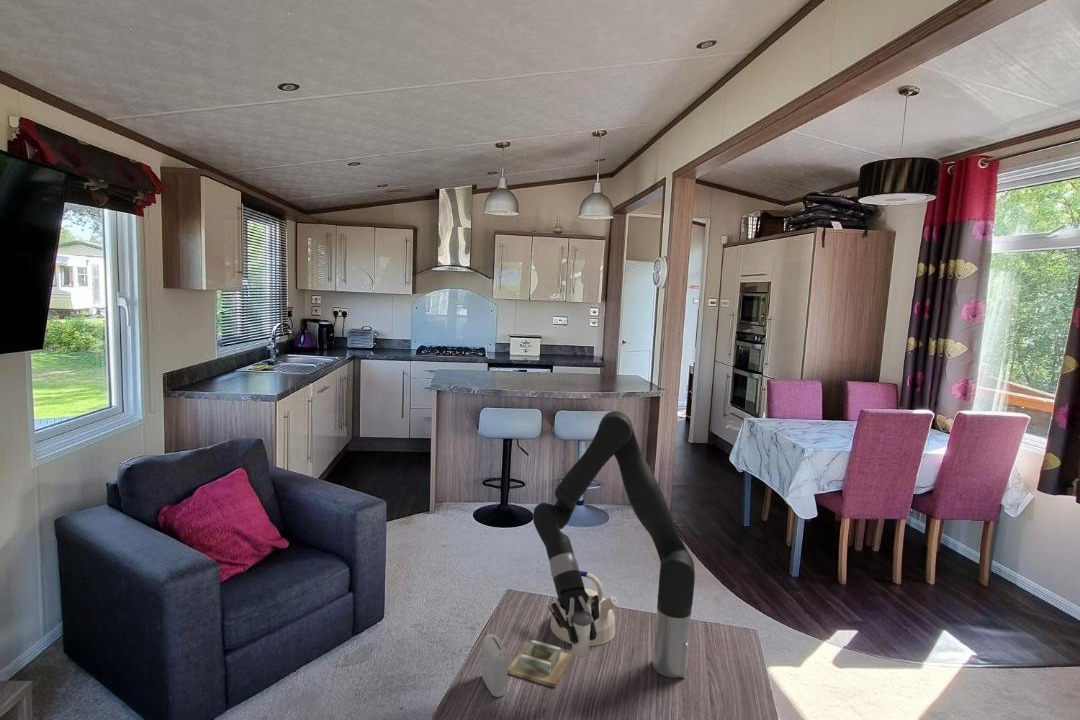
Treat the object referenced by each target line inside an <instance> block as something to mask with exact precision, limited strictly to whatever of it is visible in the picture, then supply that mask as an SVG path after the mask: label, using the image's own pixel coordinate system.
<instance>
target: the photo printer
mask: <svg viewBox="0 0 1080 720" xmlns="http://www.w3.org/2000/svg"><path fill="white" fill-rule="evenodd" d="M481 644H482V647H481V668H480V669H481V670H480V671H481V674H480V675H481V678H482V680H483V683H484V684H485V686H486V687H487V689H488V691H489V692H490V693H491V695H492V696H493V697H496V698H501V697H503V696H505V695H506V693H507V692H508V675H509V674H508V667H509V655H508V654H509V653H508V651H507V650H506V648H505V645H504V644H503V642H502V641H501V640H500V638H499V637H497V635H495V634H492V633H490V634H486V635H485V636H484V638H483V639H482V643H481Z"/></svg>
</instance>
